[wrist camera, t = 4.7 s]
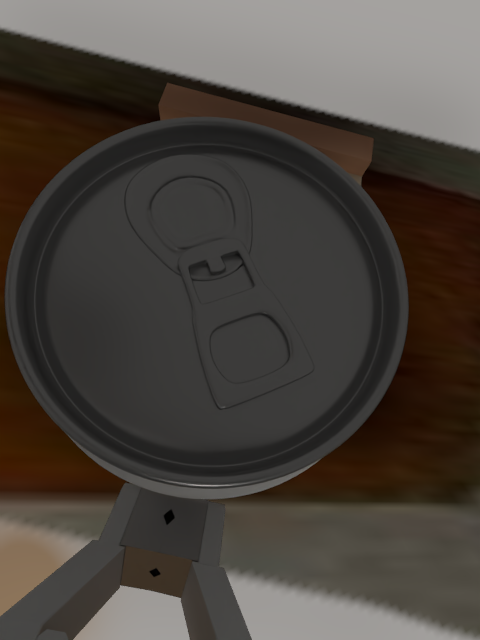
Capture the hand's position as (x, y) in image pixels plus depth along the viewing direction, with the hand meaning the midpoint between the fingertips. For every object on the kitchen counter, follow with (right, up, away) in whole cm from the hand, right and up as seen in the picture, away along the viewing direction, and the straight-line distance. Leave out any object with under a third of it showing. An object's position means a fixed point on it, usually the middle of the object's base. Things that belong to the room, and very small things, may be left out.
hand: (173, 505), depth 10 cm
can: (0, +3, +6) cm, 7 cm away
